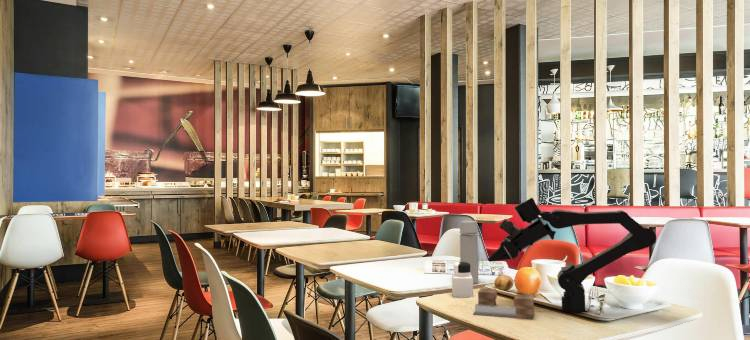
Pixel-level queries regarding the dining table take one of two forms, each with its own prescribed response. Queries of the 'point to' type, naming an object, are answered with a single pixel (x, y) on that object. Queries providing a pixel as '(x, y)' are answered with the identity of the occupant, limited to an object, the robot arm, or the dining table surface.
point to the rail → (495, 311)
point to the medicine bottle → (462, 280)
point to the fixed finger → (524, 306)
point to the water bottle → (470, 247)
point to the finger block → (487, 296)
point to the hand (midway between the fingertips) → (490, 258)
